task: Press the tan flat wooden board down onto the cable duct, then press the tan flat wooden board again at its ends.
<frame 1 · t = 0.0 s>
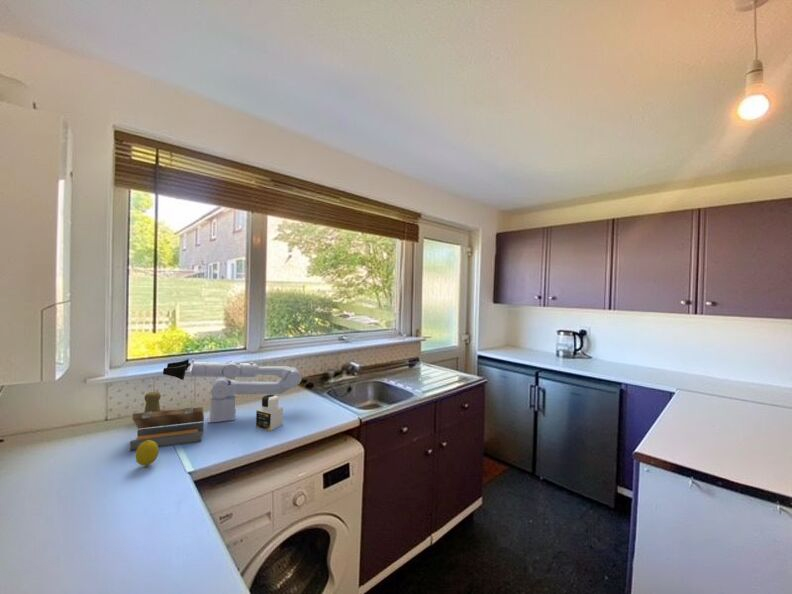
hand: (165, 368, 129), 22 cm above the worktop, tool horizontal, fingers open, 7 cm apart
medicine bottle: (269, 426, 133), on the worktop
tan flat wooden board: (170, 418, 119), point 7 cm above the worktop, hinge at 40.0°
lemon: (147, 466, 102), on the worktop
cable duct: (169, 439, 118), on the worktop
cork: (152, 420, 134), on the worktop
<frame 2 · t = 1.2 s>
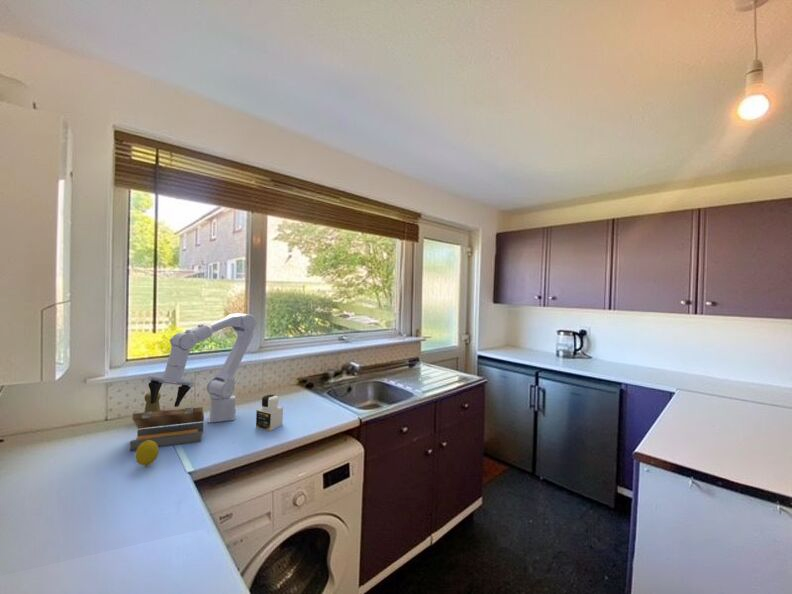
hand: (164, 404, 119), 12 cm above the worktop, tool tilted 15°, fingers open, 7 cm apart
nothing on the worktop moved.
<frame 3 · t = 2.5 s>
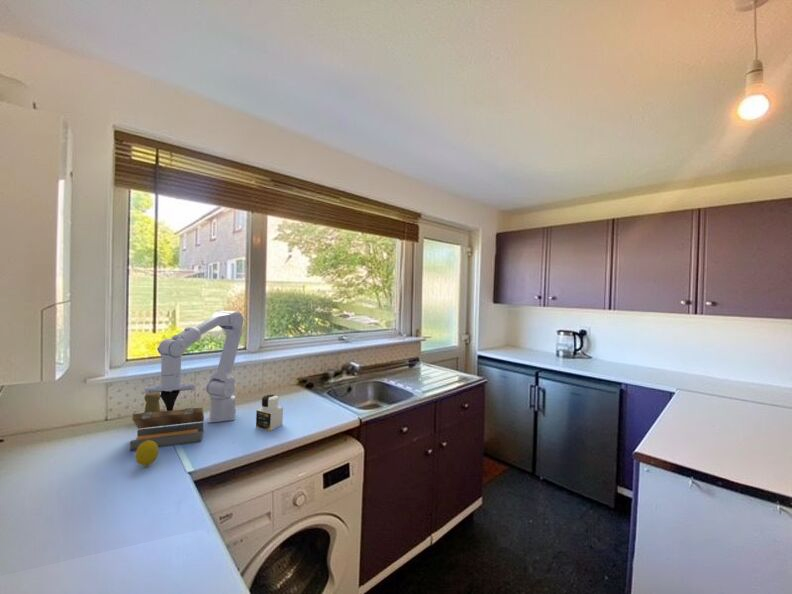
hand: (170, 411, 118), 10 cm above the worktop, tool pointing down, fingers closed, pressing on tan flat wooden board
tan flat wooden board: (170, 418, 119), point 7 cm above the worktop, hinge at 39.2°, touching gripper
everything else where it was.
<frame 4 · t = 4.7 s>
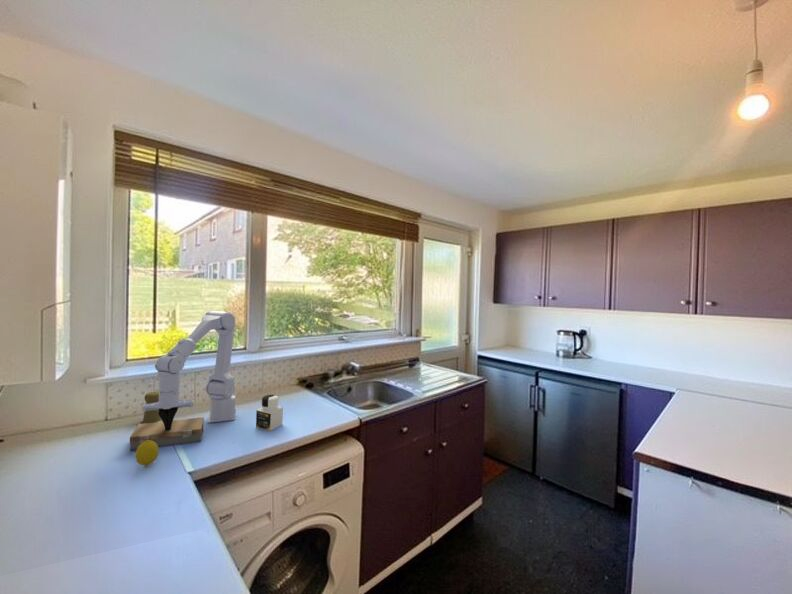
hand: (168, 429, 116), 5 cm above the worktop, tool pointing down, fingers closed, pressing on tan flat wooden board
tan flat wooden board: (169, 429, 118), point 4 cm above the worktop, hinge at -0.6°, touching gripper
everything else where it was.
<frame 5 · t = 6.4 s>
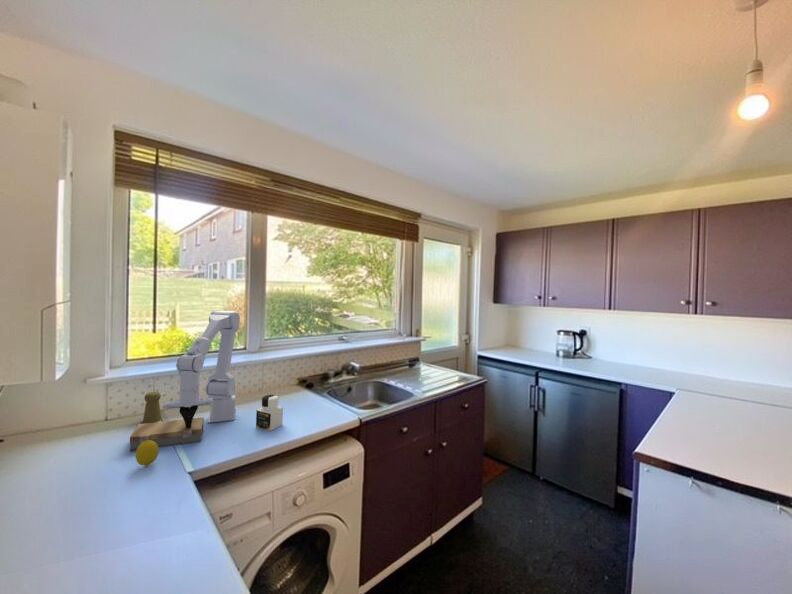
hand: (188, 427, 119), 5 cm above the worktop, tool pointing down, fingers closed, pressing on tan flat wooden board
tan flat wooden board: (169, 429, 118), point 4 cm above the worktop, hinge at -0.6°, touching gripper
everything else where it was.
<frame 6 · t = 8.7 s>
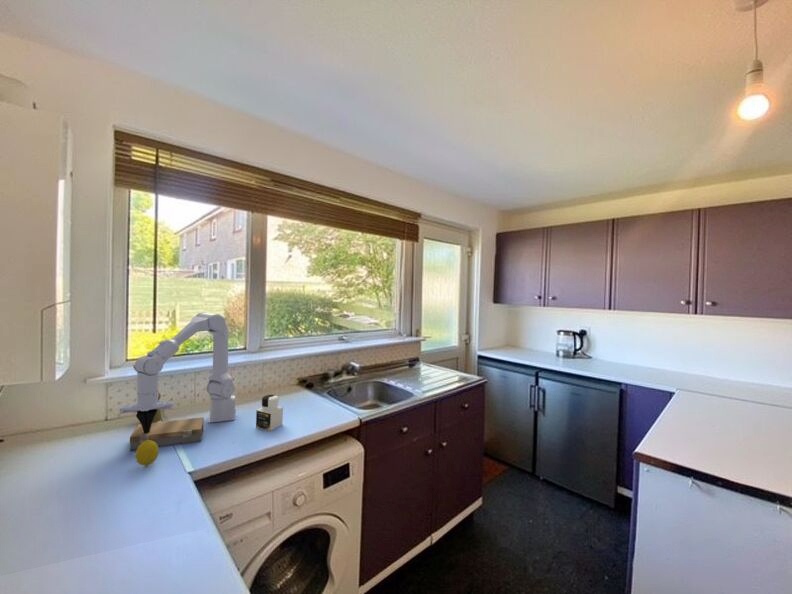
hand: (147, 431, 113), 5 cm above the worktop, tool pointing down, fingers closed, pressing on tan flat wooden board
tan flat wooden board: (169, 429, 118), point 4 cm above the worktop, hinge at -0.6°, touching gripper
everything else where it was.
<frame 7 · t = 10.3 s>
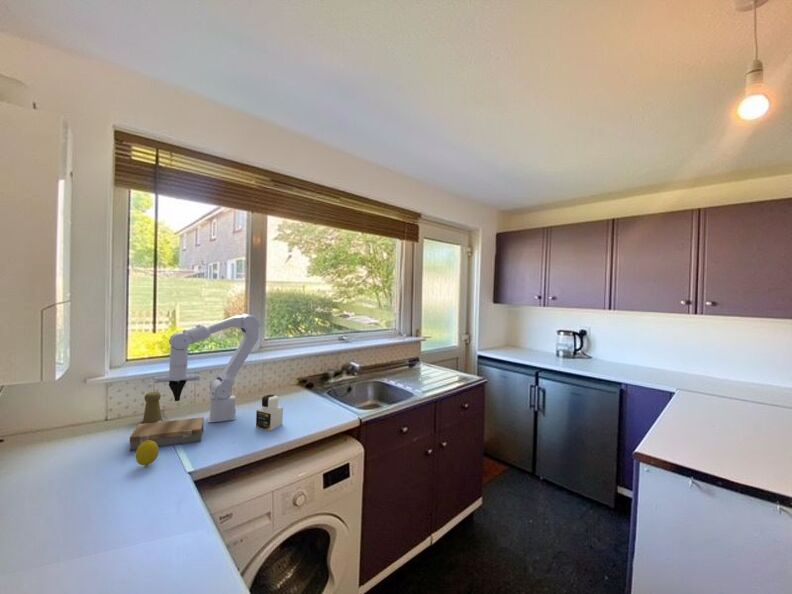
hand: (177, 400, 128), 10 cm above the worktop, tool pointing down, fingers closed
tan flat wooden board: (169, 429, 118), point 4 cm above the worktop, hinge at -0.7°
everything else where it was.
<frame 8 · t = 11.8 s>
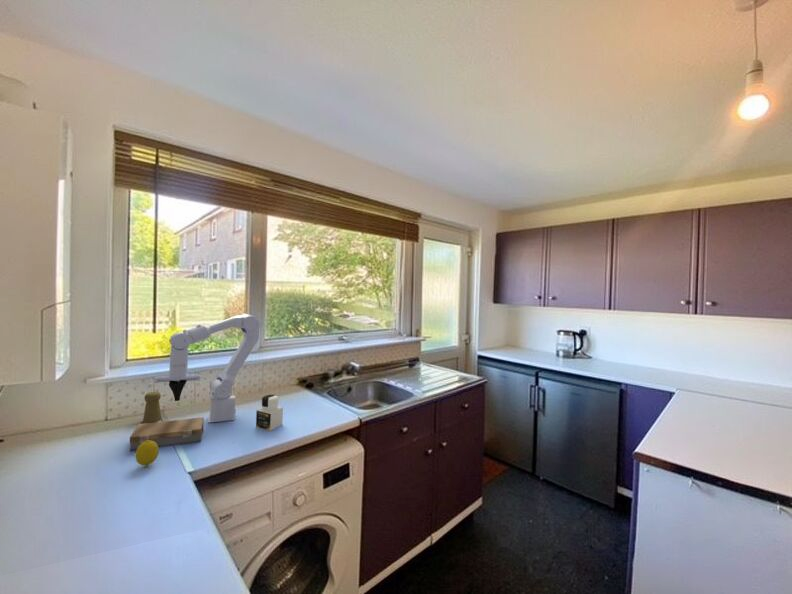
hand: (177, 400, 128), 10 cm above the worktop, tool pointing down, fingers closed
nothing on the worktop moved.
at the end: tan flat wooden board at -1° (first picture: +40°); cork moved 0.2 cm from its start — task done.
